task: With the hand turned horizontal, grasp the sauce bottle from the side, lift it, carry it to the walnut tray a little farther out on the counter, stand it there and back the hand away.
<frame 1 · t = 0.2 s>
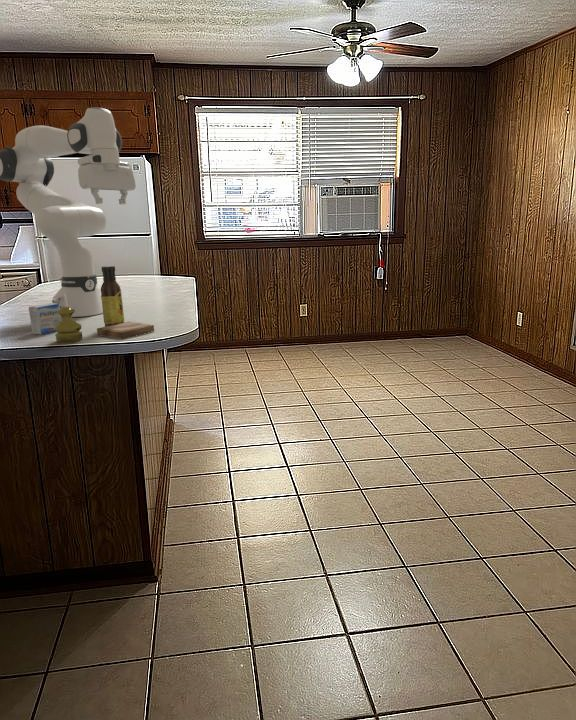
hand: (111, 204, 186), 39 cm above the table, tool pointing down, fingers open, 8 cm apart
gold stacked ornament: (69, 341, 166), on the table
walnut tray: (126, 333, 173), on the table
sauce bottle: (115, 329, 181), on the table
medicine box: (47, 332, 179), on the table
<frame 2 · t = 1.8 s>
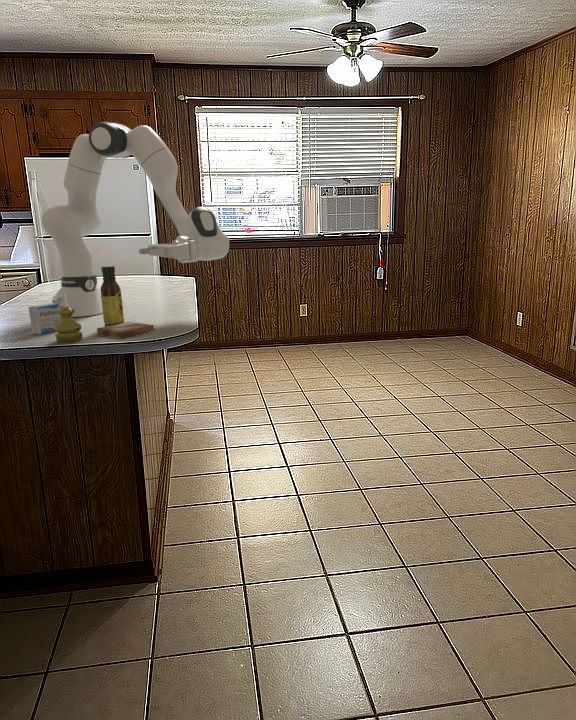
hand: (144, 252, 181), 23 cm above the table, tool horizontal, fingers open, 8 cm apart
nothing on the table moved.
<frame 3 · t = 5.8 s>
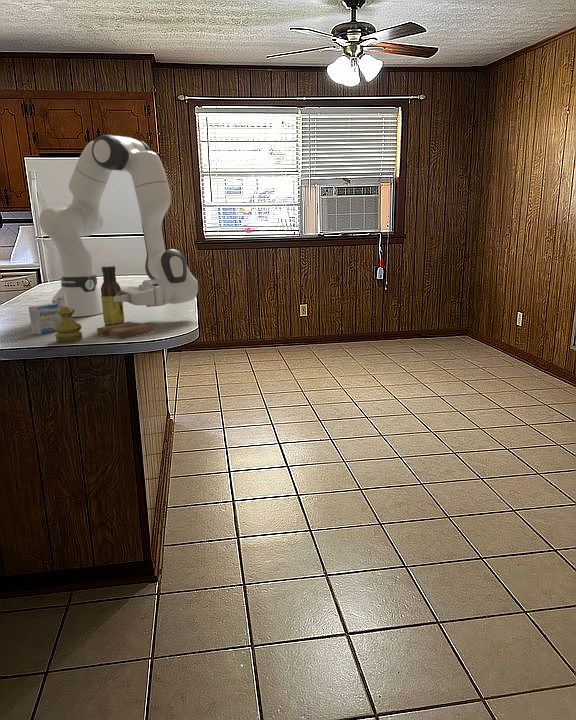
hand: (109, 297, 178), 10 cm above the table, tool horizontal, fingers closed on sauce bottle, 6 cm apart
sauce bottle: (115, 328, 181), on the table, touching gripper
everything else where it was.
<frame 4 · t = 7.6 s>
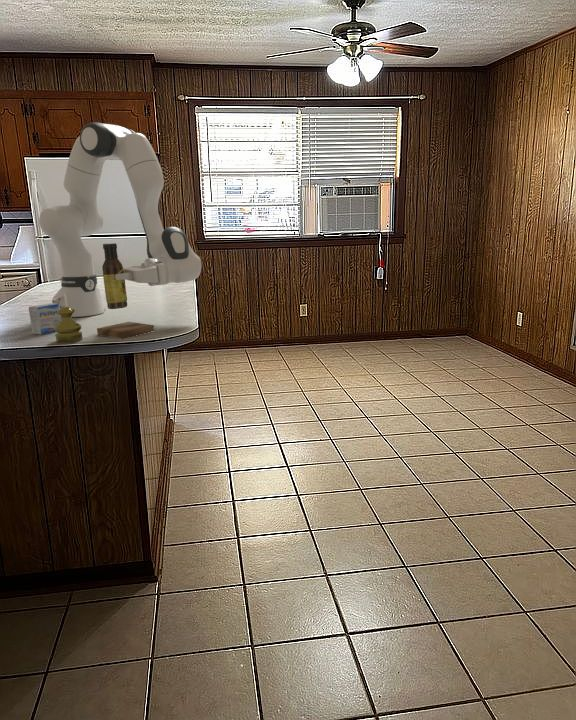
hand: (111, 276, 174), 17 cm above the table, tool horizontal, fingers closed on sauce bottle, 6 cm apart
sauce bottle: (117, 308, 177), point 7 cm above the table, touching gripper
everything else where it was.
when the fingers open (13 cm above the table, at t = 9.4 s): sauce bottle drops 1 cm, resting on walnut tray.
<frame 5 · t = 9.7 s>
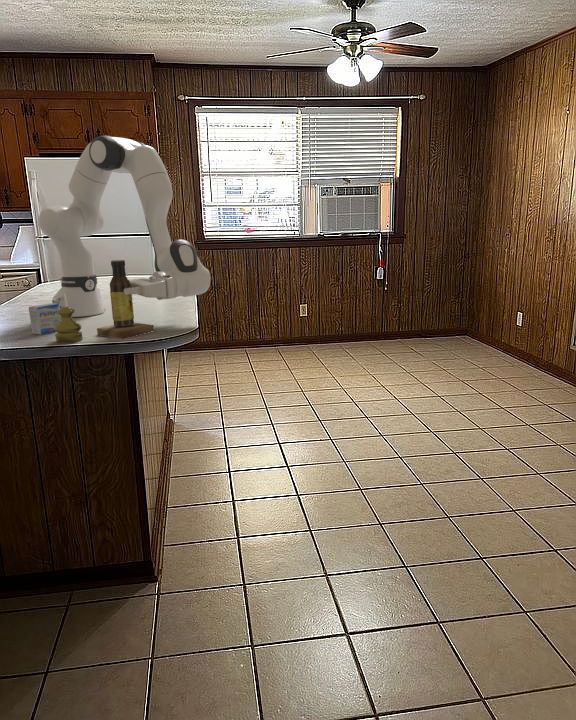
hand: (118, 289, 170), 13 cm above the table, tool horizontal, fingers open, 8 cm apart
sauce bottle: (124, 326, 174), point 2 cm above the table, touching gripper, walnut tray
everything else where it was.
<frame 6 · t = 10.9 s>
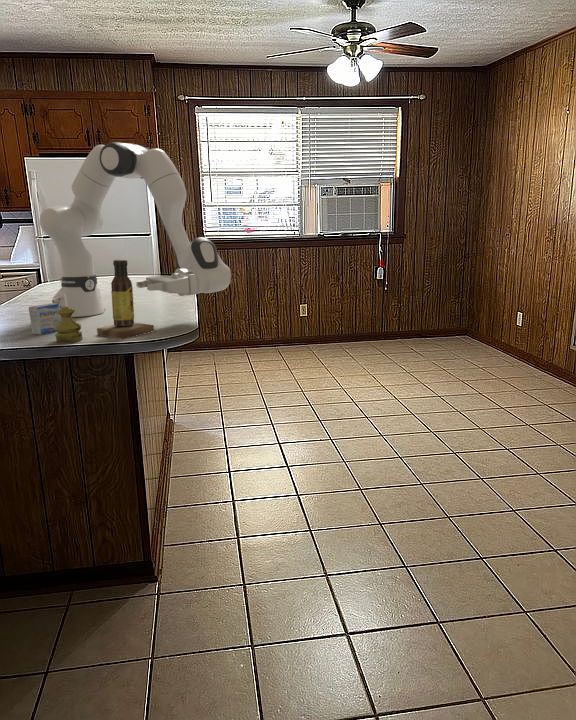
hand: (142, 286, 173), 14 cm above the table, tool horizontal, fingers open, 8 cm apart
sauce bottle: (124, 325, 174), point 2 cm above the table, touching walnut tray
everything else where it was.
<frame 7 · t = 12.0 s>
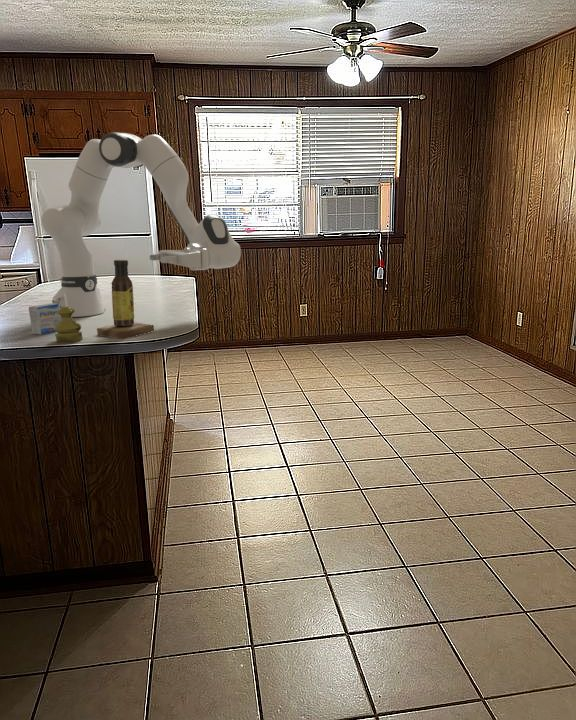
hand: (155, 258, 179), 21 cm above the table, tool horizontal, fingers open, 8 cm apart
nothing on the table moved.
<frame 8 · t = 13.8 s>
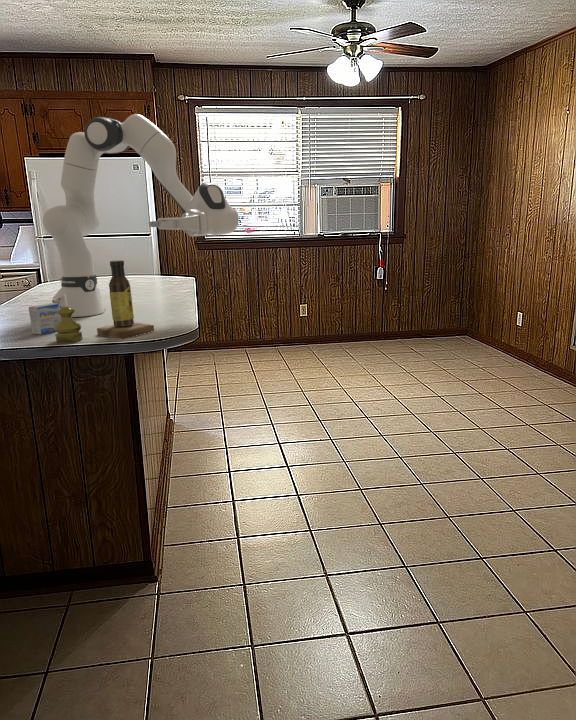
hand: (154, 224, 181), 32 cm above the table, tool horizontal, fingers open, 8 cm apart
at the end: sauce bottle inside the target area on the walnut tray (1.3 cm from its centre), point 2.0 cm above the walnut tray's base; sauce bottle tilted 0°; the gripper is holding nothing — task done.
